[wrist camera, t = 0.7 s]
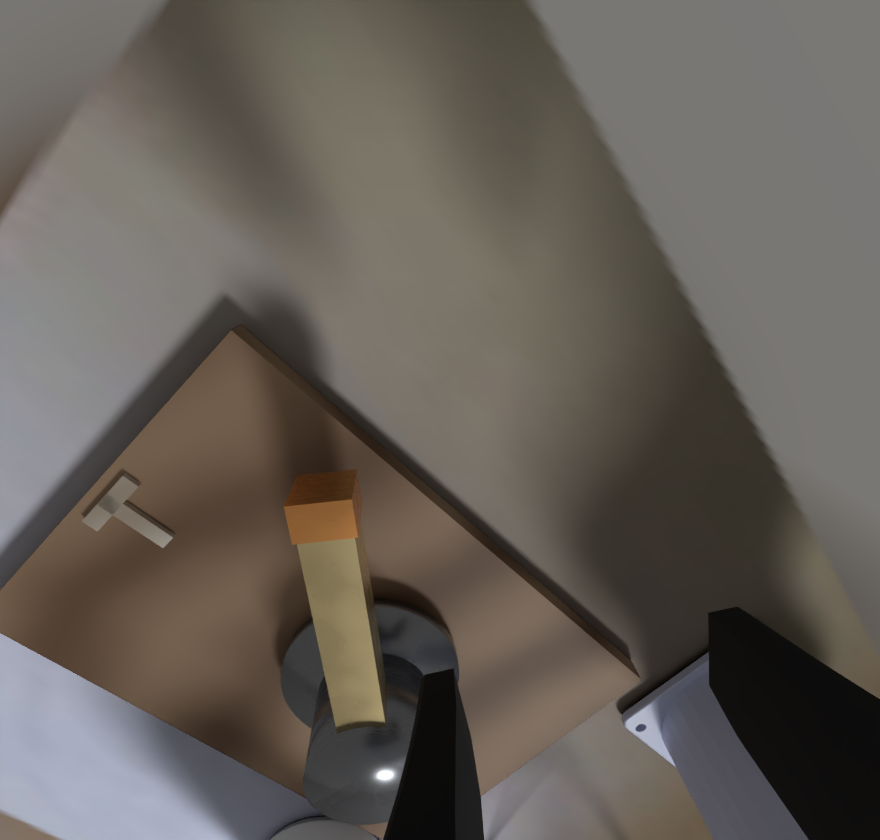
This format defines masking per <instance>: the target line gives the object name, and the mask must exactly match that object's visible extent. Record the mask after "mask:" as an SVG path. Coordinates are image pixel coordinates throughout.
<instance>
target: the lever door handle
mask: <svg viewBox="0 0 880 840" xmlns="http://www.w3.org/2000/svg"><path fill="white" fill-rule="evenodd" d="M284 510H285V515H286V520H287V524H288V529H289V533H290V538H291V543H292V545H295V544H297V548H298V552H299V557H300V562H301V566H302V571H303V576H304V580H305V585H306V590H307V594H308V599H309V604H310V608H311V613H312V617H311V618H310V619H308V620H307V621H306V622H305V623H304V624H303V625H302V626H301V627H300V628H299V629H298V630H297V632H296V633H295V634H294V635H293V637H292V639H291V641H290V642H289V644H288V647H287V650H286V652H285V656H284V660H283V664H282V669H281V677H280V683H281V689H282V693H283V696H284V699H285V701H286V703H287V705H288V706H289V708H290V709H291V711H292V712H293V713H294V714H295V716H296V717H297V718H298V719H300V720H301V721H302V722H303V723H304V724H306V725H307V726H308V727H310V728H311V735H310V741H309V747H308V752H307V758H306V764H305V770H304V776H303V790H304V793H305V796H306V798H307V799H308V801H309V802H310V804H311V805H312V806H313V807H314V808H315V809H316V810H317V811H319V812H320V813H322V814H323V815H325V816H327V817H329V818H331V819H334V820H337V821H340V822H344V823H349V824H358V825H371V824H380V823H385V822H388V821H389V818H390V815H391V812H392V808H393V805H394V802H395V799H396V795H397V792H398V788H399V784H400V780H401V776H402V772H403V768H404V764H405V761H406V757H407V753H408V749H409V745H410V740H411V735H412V730H413V726H414V721H415V716H416V710H417V704H418V697H419V690H420V680H421V679H422V677H423V676H424V675H425V674H430V673H434V672H439V671H444V670H448V669H453V668H454V672H455V676H456V680H457V684H458V683H459V664H458V657H457V651H456V647H455V644H454V642H453V640H452V638H451V636H450V634H449V632H448V631H447V630H446V629H445V627H444V626H443V625H442V624H441V623H440V622H439V621H438V620H437V619H436V618H434V617H433V616H432V615H430V614H429V613H427V612H426V611H424V610H422V609H420V608H418V607H416V606H413V605H411V604H408V603H405V602H401V601H397V600H391V599H384V598H373V593H372V587H371V580H370V574H369V568H368V561H367V555H366V548H365V542H364V536H363V529H362V523H361V511H362V498H361V492H360V485H359V479H358V472H357V469H355V470H345V471H336V472H326V473H316V474H307V475H297V476H296V478H295V480H294V483H293V485H292V488H291V490H290V493H289V495H288V497H287V500H286V502H285V505H284Z"/></svg>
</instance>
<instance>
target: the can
mask: <svg viewBox="0 0 880 840" xmlns="http://www.w3.org/2000/svg"><path fill="white" fill-rule="evenodd" d="M270 840H377V839H376V837H375V836H374V835H373V834H371V833H370V832H368V831H366V830H364V829H362V828H360V827H358V826H357V825H355V824H349V823H344V822H340V821H337V820H334V819H331V818H329V817H327V816H320V817H311V818H306V819H302V820H299V821H296V822H294V823H291V824H289V825H287V826H286V827H284V828H282V829H281V830H280V831H278V832H277V833H276V834H275V835H274V836H273V837H272V839H270Z"/></svg>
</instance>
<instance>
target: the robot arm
mask: <svg viewBox="0 0 880 840" xmlns="http://www.w3.org/2000/svg"><path fill="white" fill-rule="evenodd" d="M708 615H709V652H708V653H706V654H705V655H703V656H702V657H701V658H699V659H698V660H696V661H695V662H694V663H692V664H691V665H689V666H688V667H687V668H685V669H684V670H682V671H681V672H680V673H678V674H677V675H675V676H674V677H673V678H671V679H670V680H668V681H667V682H666V683H664V684H663V685H661V686H660V687H659V688H657V689H656V690H654V691H653V692H652V693H650V694H649V695H647V696H646V697H645V698H643V699H642V700H640V701H639V702H638V703H636V704H635V705H633V706H632V707H631V708H629V709H628V710H626V711H625V712H624V713H623V715H622V722H623V724H624V726H625V727H626V728H627V729H628V730H629V731H631V732H632V733H633V734H634V735H636V736H637V737H638V738H639V739H641V740H642V741H643V742H645V743H646V744H647V745H648V746H650V747H651V748H652V749H653V750H655V751H656V752H657V753H658V754H660V755H661V756H662V757H664V758H665V759H666V760H667V761H669V762H670V763H671V764H672V765H674V766H675V767H676V768H677V770H678V771H679V773H680V775H681V777H682V779H683V781H684V783H685V785H686V787H687V789H688V791H689V793H690V795H691V797H692V799H693V801H694V803H695V804H696V806H697V808H698V810H699V812H700V814H701V816H702V818H703V820H704V822H705V824H706V826H707V828H708V830H709V832H710V834H711V836H712V837H713V839H714V840H880V699H879V698H877V697H875V696H874V695H872V694H870V693H869V692H867V691H866V690H864V689H862V688H861V687H859V686H858V685H856V684H855V683H853V682H851V681H850V680H848V679H847V678H845V677H843V676H842V675H840V674H839V673H837V672H836V671H834V670H832V669H831V668H829V667H828V666H826V665H825V664H823V663H822V662H820V661H819V660H817V659H815V658H814V657H812V656H811V655H809V654H808V653H806V652H805V651H803V650H802V649H800V648H799V647H797V646H796V645H794V644H793V643H791V642H790V641H788V640H787V639H785V638H784V637H782V636H781V635H779V634H778V633H776V632H775V631H773V630H772V629H770V628H769V627H767V626H766V625H764V624H763V623H762V622H760V621H758V620H757V619H755V618H754V617H752V616H751V615H749V614H748V613H746V612H745V611H743V610H742V609H740V608H739V607H734V608H729V609H724V610H720V611H715V612H711V613H708ZM383 840H484V833H483V820H482V808H481V795H480V788H479V782H478V776H477V770H476V763H475V757H474V751H473V745H472V739H471V734H470V730H469V727H468V723H467V719H466V715H465V711H464V707H463V703H462V699H461V695H460V692H459V688H458V684H457V680H456V676H455V672H454V668H453V669H448V670H444V671H439V672H434V673H430V674H425V675H424V676H423V677H422V679H421V680H420V690H419V697H418V704H417V710H416V716H415V721H414V726H413V730H412V735H411V740H410V745H409V749H408V753H407V757H406V761H405V764H404V768H403V772H402V776H401V780H400V784H399V788H398V792H397V795H396V799H395V802H394V805H393V808H392V812H391V815H390V818H389V821H388V825H387V828H386V831H385V834H384V838H383Z"/></svg>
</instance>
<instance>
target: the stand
mask: <svg viewBox="0 0 880 840" xmlns="http://www.w3.org/2000/svg"><path fill="white" fill-rule="evenodd" d="M355 469H357V472H358V479H359V485H360V492H361V498H362V511H361V523H362V529H363V536H364V542H365V548H366V555H367V561H368V568H369V574H370V580H371V587H372V593H373V598H384V599H391V600H397V601H401V602H405V603H408V604H411V605H413V606H416V607H418V608H420V609H422V610H424V611H426V612H427V613H429V614H430V615H432V616H433V617H434V618H436V619H437V620H438V621H439V622H440V623H441V624H442V625H443V626H444V627H445V629H446V630H447V631H448V632H449V634H450V636H451V638H452V640H453V642H454V644H455V647H456V651H457V657H458V664H459V683H458V688H459V692H460V695H461V699H462V703H463V707H464V711H465V715H466V719H467V723H468V727H469V730H470V734H471V739H472V745H473V751H474V757H475V763H476V770H477V776H478V782H479V788H480V795H481V796H482V795H483V794H485V793H486V792H487V791H489V790H490V789H492V788H493V787H494V786H496V785H497V784H498V783H500V782H501V781H503V780H504V779H505V778H507V777H508V776H509V775H511V774H512V773H514V772H515V771H516V770H518V769H519V768H521V767H522V766H523V765H525V764H526V763H527V762H529V761H530V760H532V759H533V758H534V757H536V756H537V755H538V754H540V753H541V752H543V751H544V750H545V749H547V748H548V747H549V746H551V745H552V744H554V743H555V742H556V741H558V740H559V739H561V738H562V737H563V736H565V735H566V734H567V733H569V732H570V731H572V730H573V729H574V728H576V727H577V726H578V725H580V724H581V723H583V722H584V721H585V720H587V719H588V718H590V717H591V716H592V715H594V714H595V713H596V712H598V711H599V710H601V709H602V708H603V707H605V706H606V705H607V704H609V703H610V702H612V701H613V700H614V699H616V698H617V697H619V696H620V695H621V694H623V693H624V692H625V691H627V690H628V689H630V688H631V687H632V686H634V685H635V684H636V683H638V682H639V681H641V678H640V676H639V674H638V672H637V670H636V669H635V667H634V665H633V663H632V661H630V660H629V659H628V658H627V657H626V656H625V655H623V654H622V653H621V652H620V651H619V650H618V649H617V648H615V647H614V646H613V645H612V644H611V643H610V642H608V641H607V640H606V639H605V638H604V637H603V636H601V635H600V634H599V633H598V632H597V631H596V630H594V629H593V628H592V627H591V626H590V625H589V624H588V623H586V622H585V621H584V620H583V619H582V618H581V617H579V616H578V615H577V614H576V613H575V612H574V611H572V610H571V609H570V608H569V607H568V606H567V605H565V604H564V603H563V602H562V601H561V600H560V599H559V598H557V597H556V596H555V595H554V594H553V593H552V592H550V591H549V590H548V589H547V588H546V587H545V586H543V585H542V584H541V583H540V582H539V581H538V580H537V579H535V578H534V577H533V576H532V575H531V574H530V573H528V572H527V571H526V570H525V569H524V568H523V567H521V566H520V565H519V564H518V563H517V562H516V561H514V560H513V559H512V558H511V557H510V556H509V555H508V554H506V553H505V552H504V551H503V550H502V549H501V548H499V547H498V546H497V545H496V544H495V543H494V542H492V541H491V540H490V539H489V538H488V537H487V536H485V535H484V534H483V533H482V532H481V531H480V530H479V529H477V528H476V527H475V526H474V525H473V524H472V523H470V522H469V521H468V520H467V519H466V518H465V517H463V516H462V515H461V514H460V513H459V512H458V511H456V510H455V509H454V508H453V507H452V506H451V505H450V504H448V503H447V502H446V501H445V500H444V499H443V498H441V497H440V496H439V495H438V494H437V493H436V492H434V491H433V490H432V489H431V488H430V487H429V486H427V485H426V484H425V483H424V482H423V481H422V480H421V479H419V478H418V477H417V476H416V475H415V474H414V473H412V472H411V471H410V470H409V469H408V468H407V467H405V466H404V465H403V464H402V463H401V462H400V461H399V460H397V459H396V458H395V457H394V456H393V455H392V454H390V453H389V452H388V451H387V450H386V449H385V448H383V447H382V446H381V445H380V444H379V443H378V442H376V441H375V440H374V439H373V438H372V437H371V436H370V435H368V434H367V433H366V432H365V431H364V430H363V429H361V428H360V427H359V426H358V425H357V424H356V423H354V422H353V421H352V420H351V419H350V418H349V417H347V416H346V415H345V414H344V413H343V412H342V411H341V410H339V409H338V408H337V407H336V406H335V405H334V404H332V403H331V402H330V401H329V400H328V399H327V398H325V397H324V396H323V395H322V394H321V393H320V392H318V391H317V390H316V389H315V388H314V387H313V386H312V385H310V384H309V383H308V382H307V381H306V380H305V379H303V378H302V377H301V376H300V375H299V374H298V373H296V372H295V371H294V370H293V369H292V368H291V367H289V366H288V365H287V364H286V363H285V362H284V361H283V360H281V359H280V358H279V357H278V356H277V355H276V354H274V353H273V352H272V351H271V350H270V349H269V348H267V347H266V346H265V345H264V344H263V343H262V342H261V341H259V340H258V339H257V338H256V337H255V336H254V335H252V334H251V333H250V332H249V331H248V330H247V329H245V328H244V327H243V326H242V325H241V324H240V325H239V326H237V327H235V328H234V329H232V330H231V331H230V332H229V333H228V334H227V335H226V336H225V338H224V339H223V340H222V341H221V342H220V343H219V344H218V345H217V347H216V348H215V349H214V350H213V351H212V352H211V353H210V354H209V356H208V357H207V358H206V359H205V360H204V361H203V362H202V363H201V365H200V366H199V367H198V368H197V369H196V370H195V371H194V372H193V374H192V375H191V376H190V377H189V378H188V379H187V380H186V381H185V383H184V384H183V385H182V386H181V387H180V388H179V389H178V391H177V392H176V393H175V394H174V395H173V396H172V397H171V398H170V400H169V401H168V402H167V403H166V404H165V405H164V406H163V407H162V409H161V410H160V411H159V412H158V413H157V414H156V415H155V416H154V418H153V419H152V420H151V421H150V422H149V423H148V424H147V425H146V427H145V428H144V429H143V430H142V431H141V432H140V433H139V434H138V436H137V437H136V438H135V439H134V440H133V441H132V442H131V443H130V445H129V446H128V447H127V448H126V449H125V450H124V451H123V452H122V454H121V455H120V456H119V457H118V458H117V459H116V460H115V461H114V463H113V464H112V465H111V466H110V467H109V468H108V469H107V470H106V472H105V473H104V474H103V475H102V476H101V477H100V478H99V479H98V481H97V482H96V483H95V484H94V485H93V486H92V487H91V489H90V490H89V491H88V492H87V493H86V494H85V495H84V496H83V498H82V499H81V500H80V501H79V502H78V503H77V504H76V505H75V507H74V508H73V509H72V510H71V511H70V512H69V513H68V514H67V516H66V517H65V518H64V519H63V520H62V521H61V522H60V523H59V525H58V526H57V527H56V528H55V529H54V530H53V531H52V532H51V534H50V535H49V536H48V537H47V538H46V539H45V540H44V541H43V543H42V544H41V545H40V546H39V547H38V548H37V549H36V550H35V552H34V553H33V554H32V555H31V556H30V557H29V558H28V559H27V561H26V562H25V563H24V564H23V565H22V566H21V567H20V568H19V570H18V571H17V572H16V573H15V574H14V575H13V576H12V578H11V579H10V580H9V581H8V582H7V583H6V584H5V585H4V587H3V588H2V589H1V590H0V633H1V634H3V635H5V636H7V637H9V638H10V639H12V640H14V641H16V642H18V643H20V644H22V645H23V646H25V647H27V648H29V649H31V650H33V651H34V652H36V653H38V654H40V655H42V656H44V657H46V658H47V659H49V660H51V661H53V662H55V663H57V664H59V665H60V666H62V667H64V668H66V669H68V670H70V671H72V672H73V673H75V674H77V675H79V676H81V677H83V678H84V679H86V680H88V681H90V682H92V683H94V684H96V685H97V686H99V687H101V688H103V689H105V690H107V691H109V692H110V693H112V694H114V695H116V696H118V697H120V698H121V699H123V700H125V701H127V702H129V703H131V704H133V705H134V706H136V707H138V708H140V709H142V710H144V711H146V712H147V713H149V714H151V715H153V716H155V717H157V718H159V719H160V720H162V721H164V722H166V723H168V724H170V725H171V726H173V727H175V728H177V729H179V730H181V731H183V732H184V733H186V734H188V735H190V736H192V737H194V738H196V739H197V740H199V741H201V742H203V743H205V744H207V745H209V746H210V747H212V748H214V749H216V750H218V751H220V752H221V753H223V754H225V755H227V756H229V757H231V758H233V759H234V760H236V761H238V762H240V763H242V764H244V765H246V766H247V767H249V768H251V769H253V770H255V771H257V772H258V773H260V774H262V775H264V776H266V777H268V778H270V779H271V780H273V781H275V782H277V783H279V784H281V785H283V786H284V787H286V788H288V789H290V790H292V791H294V792H296V793H297V794H299V795H301V796H303V797H305V798H306V796H305V793H304V790H303V776H304V770H305V764H306V758H307V752H308V747H309V741H310V735H311V728H310V727H308V726H307V725H306V724H304V723H303V722H302V721H301V720H300V719H298V718H297V717H296V716H295V714H294V713H293V712H292V711H291V709H290V708H289V706H288V705H287V703H286V701H285V699H284V696H283V693H282V689H281V683H280V677H281V669H282V664H283V660H284V656H285V652H286V650H287V647H288V644H289V642H290V641H291V639H292V637H293V635H294V634H295V633H296V632H297V630H298V629H299V628H300V627H301V626H302V625H303V624H304V623H305V622H306V621H307V620H308V619H310V618H311V617H312V613H311V608H310V604H309V599H308V594H307V590H306V585H305V580H304V576H303V571H302V566H301V562H300V557H299V552H298V548H297V544H295V545H292V543H291V538H290V533H289V529H288V524H287V520H286V515H285V510H284V505H285V502H286V500H287V497H288V495H289V493H290V490H291V488H292V485H293V483H294V480H295V478H296V476H297V475H307V474H316V473H326V472H336V471H345V470H355ZM355 825H357V826H358V827H360V828H362V829H364V830H366V831H368V832H370V833H371V834H373V835H375V836H377V837H379V838H381V839H383V838H384V834H385V831H386V828H387V825H388V822H385V823H380V824H371V825H358V824H355Z"/></svg>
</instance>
